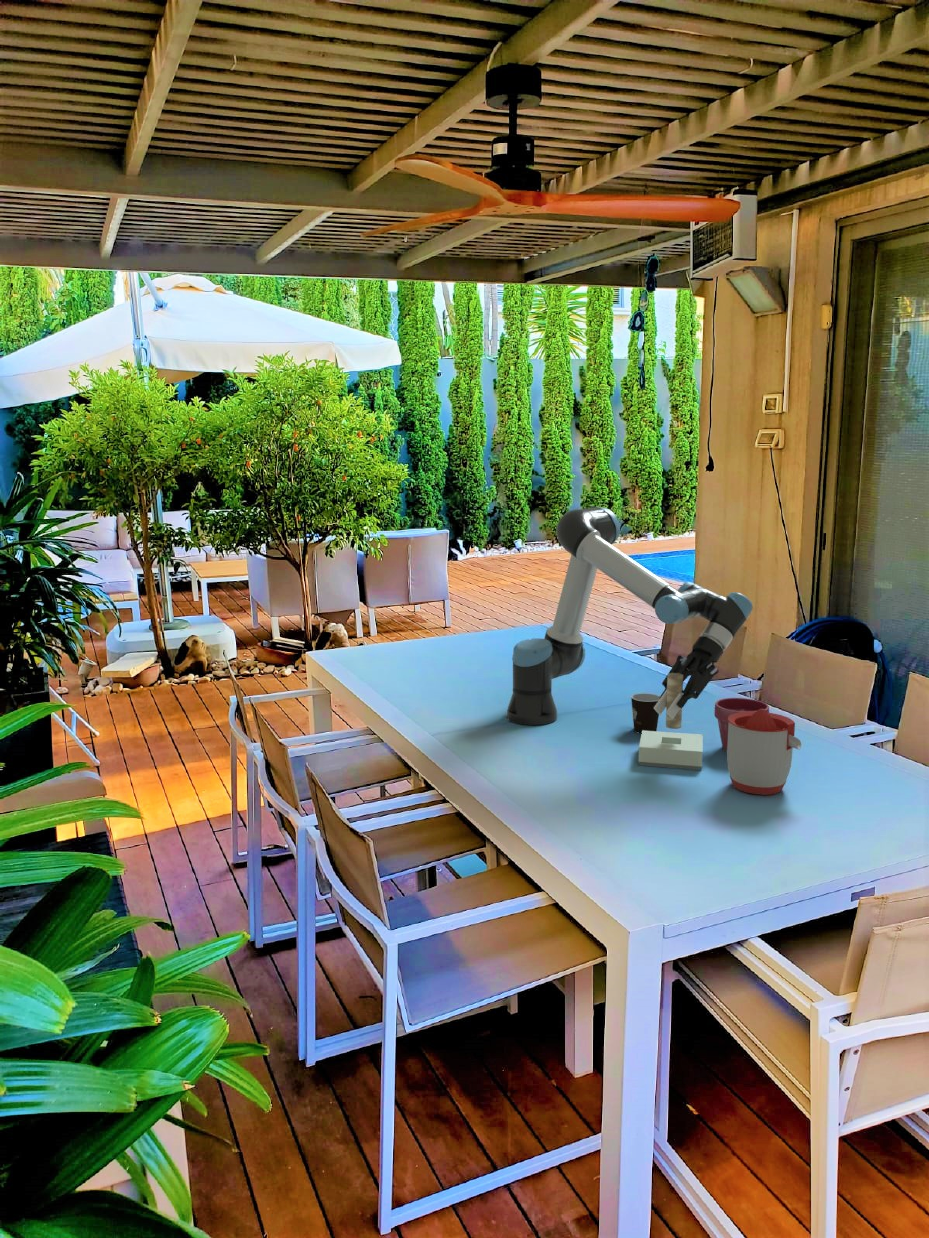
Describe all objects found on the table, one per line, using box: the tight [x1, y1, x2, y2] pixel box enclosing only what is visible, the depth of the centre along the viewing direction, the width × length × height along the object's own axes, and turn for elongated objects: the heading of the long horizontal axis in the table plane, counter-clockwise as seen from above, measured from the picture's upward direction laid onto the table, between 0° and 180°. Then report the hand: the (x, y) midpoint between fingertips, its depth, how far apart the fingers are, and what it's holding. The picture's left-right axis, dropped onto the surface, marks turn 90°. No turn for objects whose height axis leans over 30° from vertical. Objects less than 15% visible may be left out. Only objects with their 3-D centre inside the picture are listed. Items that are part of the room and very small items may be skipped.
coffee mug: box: [630, 692, 661, 734], centre depth 275 cm, size 12×9×10 cm
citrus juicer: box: [726, 709, 802, 796], centre depth 229 cm, size 16×17×20 cm
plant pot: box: [713, 697, 770, 752], centre depth 257 cm, size 14×14×13 cm
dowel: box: [665, 672, 684, 730], centre depth 248 cm, size 4×4×14 cm
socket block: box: [637, 730, 704, 771], centre depth 251 cm, size 16×14×5 cm
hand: (663, 713), depth 246 cm, fingers closed on dowel, 4 cm apart
